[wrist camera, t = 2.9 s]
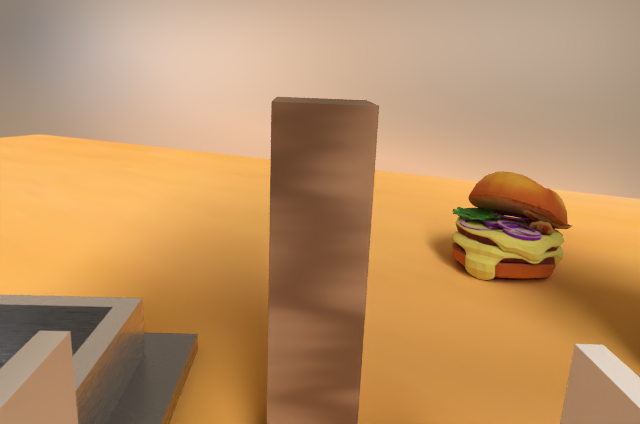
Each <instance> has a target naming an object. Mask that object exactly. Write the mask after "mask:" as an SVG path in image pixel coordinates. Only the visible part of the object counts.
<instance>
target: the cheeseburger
mask: <svg viewBox="0 0 640 424" xmlns="http://www.w3.org/2000/svg"><path fill="white" fill-rule="evenodd" d="M469 201H470V202H471V204H472V205H474V206H476V207H478V208H465V209H463V208H460V207H458V208H457V209H458V210H456V209H453V211H454V212H453V214H458V216H459V217H458V220H457V221H456V226H457V228H458V229H457V230H458V231H457V232H455V233H454V235H453V240H454V241H455V243H453V255H454V258H455V259H456V260H457V261H459V262H460V263H461V264H462V265H463V266H465V268H466V271H467V272H468V273H469V274H470V275H472V276H474V277H476V278H478V279H481V280H489V279H493V278H494V277H499V278H544V277H548V276H550V275H551V273H552V272H553V270H554V268H555V266H556V264H558V262H559V261H560V260H561V259H562V258H563V256H564V253H563V249H562V248H561V246H560V245H561V244H562V243H563V242H564V239H563V235H562V234H561V233H560V232H558V231H557V230H555V228H556V229H568V228H570V227H572V225H571V226H570V225H569V224H567V211H566V209H565V206H564V203H563V201H562V199H561V198H560V197H559V195H558V194H557V193H556V192H554V191H552V190H550V189H547V188H544V187H543V186H541V185H539V184H538V183H536V182H535V181H533V180H531V179H529V178H528V177H526V176H523V175H520V174H515V173H510V172H495V173H492V174H489V175H487V176H485V177H484V178H483V179H482V180H480V181H479V182H478V183H477V184H476V186H475V187H474V189H473V190H472V192H471V193H470V195H469ZM504 215H507V216H514V217H519V218H513V217H507V216H504Z"/></svg>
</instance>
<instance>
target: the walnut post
mask: <svg viewBox="0 0 640 424" xmlns="http://www.w3.org/2000/svg"><path fill="white" fill-rule="evenodd" d="M378 114H379V106H378V105H376V104H373V103H371V102H369V101H366V100H343V99H317V98H291V97H276V98H275V99H274V100H273V101H272V115H271V117H272V118H271V120H272V121H271V179H270V242H269V306H268V370H267V424H357V423H358V409H359V394H360V379H361V364H362V350H363V335H364V320H365V305H366V291H367V276H368V261H369V246H370V232H371V217H372V202H373V187H374V173H375V158H376V143H377V128H378Z"/></svg>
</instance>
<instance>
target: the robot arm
mask: <svg viewBox="0 0 640 424" xmlns="http://www.w3.org/2000/svg"><path fill="white" fill-rule="evenodd" d="M0 424H78V415H77V403H76V391H75V379H74V368H73V356H72V344H71V332H70V331H39V332H38V333H37V334H36V335H35V336H34V337H32V338H31V339H30V340H29V341H28V342H27V343H26V344H25V345H24V346H23V347H22V348H21V349H20V350H19V351H18V352H17V353H16V354H15V355H14V356H13V357H12V358H11V359H10V360H9V361H8V362H7V363H6V364H5V365H4V366H3V367H2V368H0ZM560 424H640V377H639V376H637V375H636V374H635V373H634V372H633V371H632V370H631V369H630V368H629V367H627V366H626V365H625V364H624V363H623V362H622V361H621V360H620V359H619V358H617V357H616V356H615V355H614V354H613V353H612V352H611V351H610V350H609V349H607V348H606V347H605V346H604V345H597V344H575V346H574V352H573V357H572V363H571V368H570V373H569V379H568V384H567V389H566V395H565V400H564V405H563V411H562V416H561V422H560Z"/></svg>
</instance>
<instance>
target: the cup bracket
mask: <svg viewBox="0 0 640 424" xmlns="http://www.w3.org/2000/svg"><path fill="white" fill-rule="evenodd" d="M39 331H70V332H71V344H72V356H73V368H74V379H75V391H76V403H77V415H78V424H169V422H170V419H171V416H172V414H173V411H174V409H175V406H176V403H177V401H178V398H179V396H180V393H181V390H182V388H183V385H184V383H185V380H186V377H187V375H188V372H189V369H190V367H191V364H192V362H193V359H194V356H195V354H196V351H197V349H198V342H197V334H175V333H144V321H143V302H142V298H116V297H74V296H32V295H0V368H2V367H3V366H4V365H5V364H6V363H7V362H8V361H9V360H10V359H11V358H12V357H13V356H14V355H15V354H16V353H17V352H18V351H19V350H20V349H21V348H22V347H23V346H24V345H25V344H26V343H27V342H28V341H29V340H30V339H31V338H32V337H34V336H35V335H36V334H37V333H38V332H39Z"/></svg>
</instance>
